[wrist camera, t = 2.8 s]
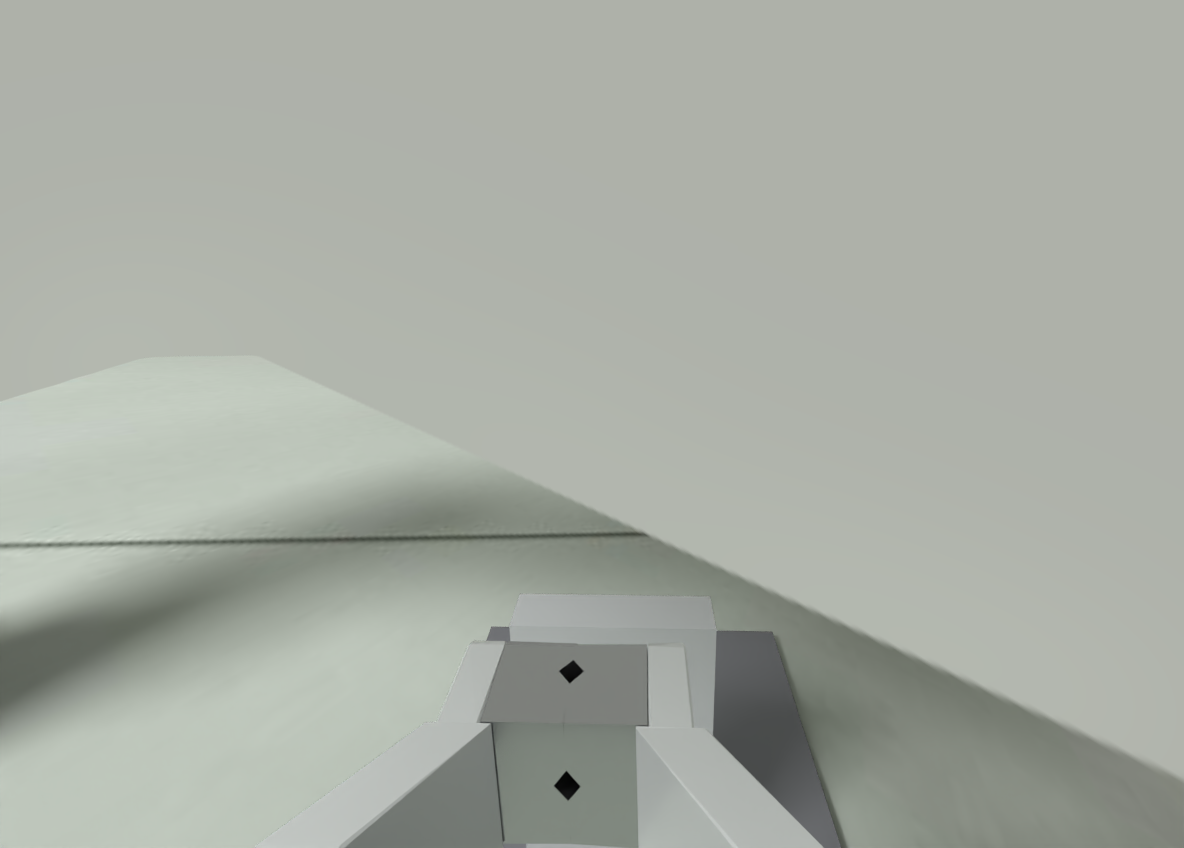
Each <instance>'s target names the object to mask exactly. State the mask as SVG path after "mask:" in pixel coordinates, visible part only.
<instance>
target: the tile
mask: <svg viewBox="0 0 1184 848" xmlns="http://www.w3.org/2000/svg"><path fill="white" fill-rule="evenodd" d="M509 628H510V641H521V642H550V643H577V644H647V650H648V643H683V644H684V645H685V646H686V653H687V663H688V672H689V681H690V690H691V700H692V709H693V718H694V728H706V729H707V730H708V731H709V732H710V733H711V734H712V735H713V718H714V690H715V661H716V632H717V629H716V624H715V618H714V613H713V608H712V602H711V597H710V596H653V595H583V594H519V597H518V600H517V603H516V607H515V610H514V613H513V616H512V619H511V622H510V625H509ZM647 670H648V660H647ZM526 848H622V847H608V846H593V845H578V844H526Z"/></svg>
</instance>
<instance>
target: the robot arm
mask: <svg viewBox="0 0 1184 848" xmlns="http://www.w3.org/2000/svg"><path fill="white" fill-rule="evenodd" d="M647 660H648V670H647ZM503 844H578V845H593V846H608V847H622V848H824V847H823V846H822V845H821V844H820V843H819V842H818V841H817V840H816V839H815V838H814V837H813V836H812V835H811V834H810V833H809V832H808V831H807V830H806V829H805V828H804V827H803V826H802V825H801V824H800V823H799V822H798V821H797V820H796V819H795V818H794V817H793V816H792V815H791V814H790V813H789V812H788V811H787V810H786V809H785V808H784V807H783V806H782V805H781V804H780V803H779V802H778V801H777V800H776V799H775V798H774V797H773V796H772V795H771V794H770V793H769V792H768V791H767V790H766V789H765V788H764V787H763V786H762V785H761V784H760V783H759V782H758V781H757V780H756V778H755V777H754V776H753V775H752V774H751V773H750V772H749V771H748V770H747V769H746V768H745V767H744V766H743V765H742V764H741V763H740V762H739V761H738V760H737V759H736V758H735V757H734V756H733V755H732V754H731V753H730V752H729V751H728V750H727V749H726V748H725V747H724V746H723V745H722V744H721V743H720V742H719V741H718V740H717V739H716V738H715V737H714V736H713V735H712V734H711V733H710V732H709V731H708V730H707V729H706V728H694V718H693V709H692V700H691V690H690V681H689V672H688V663H687V653H686V646H685V645H684V644H683V643H648V650H647V644H577V643H550V642H521V641H508V642H506V641H473V642H471V643H470V644H469V645H468V646H467V648H466V651H465V653H464V656H463V658H462V661H461V663H460V665H459V668H458V670H457V673H456V675H455V677H454V680H453V682H452V685H451V687H450V690H449V692H448V694H447V697H446V699H445V702H444V704H443V706H442V709H441V711H440V714H439V716H438V719H437V721H436V722H425V723H423V724H422V725H420V726H419V727H418V728H416V729H415V730H414V731H412V732H411V733H409V734H408V735H407V736H405V737H404V738H403V739H401V740H400V741H398V742H397V743H396V744H394V745H393V746H392V747H390V748H389V749H387V750H386V751H385V752H383V753H382V754H381V755H379V756H378V757H376V758H375V759H374V760H372V761H371V762H370V763H368V764H367V765H365V766H364V767H363V768H361V769H360V770H359V771H357V772H356V773H354V774H353V775H352V776H350V777H349V778H348V779H346V780H345V781H343V782H342V783H341V784H339V785H338V786H337V787H335V788H334V789H332V790H331V791H330V792H328V793H327V794H326V795H324V796H323V797H321V798H320V799H319V800H317V801H316V802H315V803H313V804H312V805H310V806H309V807H308V808H306V809H305V810H304V811H302V812H301V813H299V814H298V815H297V816H295V817H294V818H293V819H291V820H290V821H288V822H287V823H286V824H284V825H283V826H282V827H280V828H279V829H277V830H276V831H275V832H273V833H272V834H271V835H269V836H268V837H266V838H265V839H264V840H262V841H261V842H260V843H258V844H257V845H256V847H255V848H503Z"/></svg>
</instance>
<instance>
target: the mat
mask: <svg viewBox="0 0 1184 848" xmlns="http://www.w3.org/2000/svg"><path fill="white" fill-rule="evenodd" d="M486 641H506V642H508V641H510V628H509V627H491V629H490V632H489V635H488V638H487V640H486ZM713 736H714V737H715V738H716V739H717V740H718V741H719V742H720V743H721V744H722V745H723V746H724V747H725V748H726V749H727V750H728V751H729V752H730V753H731V754H732V755H733V756H734V757H735V758H736V759H737V760H738V761H739V762H740V763H741V764H742V765H743V766H744V767H745V768H746V769H747V770H748V771H749V772H750V773H751V774H752V775H753V776H754V777H755V778H756V780H757V781H758V782H759V783H760V784H761V785H762V786H763V787H764V788H765V789H766V790H767V791H768V792H769V793H770V794H771V795H772V796H773V797H774V798H775V799H776V800H777V801H778V802H779V803H780V804H781V805H782V806H783V807H784V808H785V809H786V810H787V811H788V812H789V813H790V814H791V815H792V816H793V817H794V818H795V819H796V820H797V821H798V822H799V823H800V824H801V825H802V826H803V827H804V828H805V829H806V830H807V831H808V832H809V833H810V834H811V835H812V836H813V837H814V838H815V839H816V840H817V841H818V842H819V843H820V844H821V845H822V846H823V847H824V848H841V845H840V842H839V839H838V836H837V833H836V830H835V827H834V823H833V820H832V817H831V814H830V811H829V808H828V805H827V802H826V798H825V795H824V792H823V789H822V786H821V783H820V780H819V777H818V773H817V770H816V767H815V764H814V761H813V758H812V755H811V752H810V748H809V745H808V742H807V739H806V736H805V733H804V730H803V726H802V723H801V720H800V717H799V714H798V711H797V708H796V705H795V701H794V698H793V695H792V692H791V689H790V686H789V683H788V680H787V676H786V673H785V670H784V667H783V664H782V661H781V658H780V655H779V651H778V648H777V645H776V642H775V639H774V636H773V633H772V632H756V631H717V632H716V661H715V690H714V718H713ZM503 848H526V844H503Z"/></svg>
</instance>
